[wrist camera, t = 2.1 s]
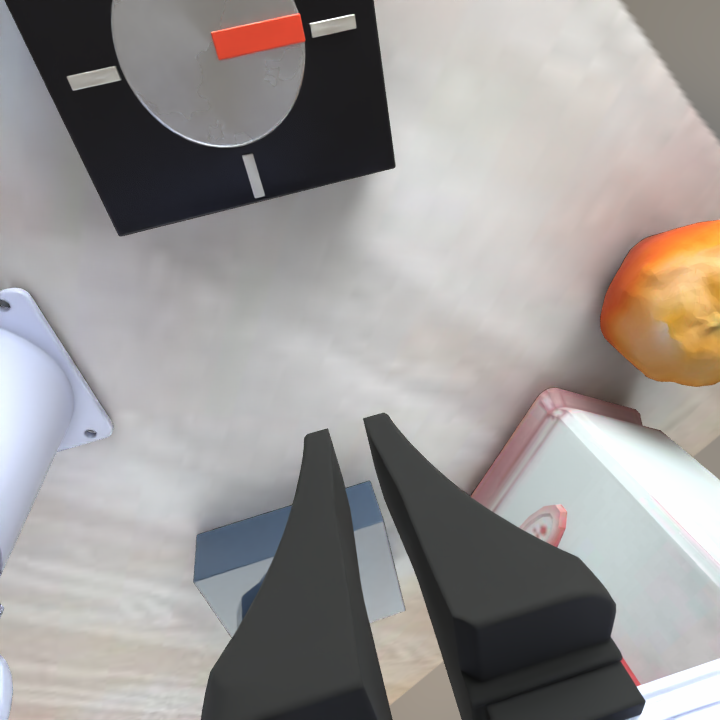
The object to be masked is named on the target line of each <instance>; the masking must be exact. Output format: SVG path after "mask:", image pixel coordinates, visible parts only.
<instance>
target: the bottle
mask: <svg viewBox="0 0 720 720" xmlns="http://www.w3.org/2000/svg"><path fill="white" fill-rule="evenodd" d="M471 497H472V498H473V499H475V500H476V501H478V502H479V503H481V504H482V505H483V506H485V507H486V508H488V509H489V510H491V511H493V512H494V513H496V514H497V515H499V516H501V517H502V518H504V519H506V520H507V521H509V522H511V523H512V524H514V525H516V526H517V527H519V528H521V529H522V530H524V531H526V532H528V533H530V534H532V535H534V536H535V537H537V538H539V539H541V540H543V541H545V542H547V543H549V544H551V545H553V546H555V547H557V548H559V549H562V550H564V551H566V552H568V553H570V554H573V555H575V556H577V557H579V558H580V559H581V560H582V561H583V562H584V564H585V565H586V566H587V567H588V568H589V569H590V570H591V571H592V572H593V573H594V575H595V576H596V577H597V578H598V579H599V580H600V581H601V583H602V584H603V585H604V586H605V588H606V589H607V590H608V592H609V594H610V595H611V597H612V599H613V600H614V602H615V603H616V616H615V620H614V624H613V629H612V633H611V638H612V639H613V641H614V642H615V644H616V645H617V647H618V649H619V650H620V652H621V654H622V657H623V658H622V660H621V662H622V664H623V666H624V667H625V669H626V670H627V672H628V674H629V675H630V677H631V678H632V680H633V681H634V683H635V685H636V686H639V685H642V684H645V683H648V682H651V681H654V680H657V679H660V678H663V677H666V676H669V675H672V674H675V673H678V672H681V671H684V670H687V669H690V668H693V667H696V666H699V665H702V664H705V663H708V662H711V661H714V660H716V659H719V658H720V480H719V479H718V478H716V477H715V476H714V475H713V474H712V473H711V472H709V471H708V470H707V469H706V468H705V467H703V466H702V465H701V464H700V463H699V462H697V461H696V460H695V459H694V458H693V457H692V456H690V455H689V454H688V453H687V452H686V451H684V450H683V449H682V448H681V447H680V446H679V445H677V444H676V443H675V442H674V441H673V440H671V439H670V438H669V437H668V436H667V435H666V434H664V433H663V432H662V431H661V430H657V429H653V428H649V427H646V426H642V421H641V416H640V413H639V412H638V411H637V410H636V409H632V408H629V407H625V406H621V405H618V404H614V403H610V402H607V401H603V400H599V399H596V398H592V397H588V396H585V395H581V394H577V393H574V392H570V391H566V390H563V389H559V388H551V389H546V390H545V391H544V392H542V393H541V394H540V395H539V396H538V397H537V399H536V400H535V402H534V403H533V405H532V406H531V408H530V409H529V411H528V412H527V414H526V415H525V416H524V418H523V419H522V421H521V422H520V424H519V425H518V427H517V428H516V430H515V431H514V433H513V434H512V436H511V437H510V439H509V440H508V442H507V443H506V445H505V446H504V448H503V449H502V451H501V452H500V454H499V455H498V457H497V458H496V460H495V461H494V463H493V464H492V466H491V467H490V468H489V470H488V471H487V473H486V474H485V476H484V477H483V479H482V480H481V482H480V483H479V485H478V486H477V488H476V489H475V491H474V492H473V494H472V495H471Z"/></svg>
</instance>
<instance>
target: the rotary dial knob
mask: <svg viewBox="0 0 720 720" xmlns="http://www.w3.org/2000/svg"><path fill="white" fill-rule="evenodd" d="M111 31H112V39H113V44H114V48H115V53H116V56H117V59H118V62H119V65H120V68H121V70H122V72H123V74H124V76H125V78H126V81H127V83H128V84H129V86H130V88H131V89H132V91H133V93H134V94H135V96H136V97H137V98H138V100H139V101H140V102H141V104H142V105H143V106H144V107H145V108H146V109H147V111H148V112H149V113H150V114H151V115H152V116H153V117H154V118H155V119H156V120H158V121H159V122H160V123H161V124H162V125H163V126H165V127H166V128H168V129H169V130H171V131H172V132H173V133H175V134H177V135H179V136H181V137H183V138H184V139H186V140H189V141H192V142H194V143H197V144H200V145H204V146H208V147H216V148H233V147H239V146H244V145H247V144H251V143H254V142H256V141H258V140H260V139H262V138H264V137H265V136H267V135H268V134H269V133H271V132H272V131H273V130H274V129H276V128H277V127H278V126H279V125H280V124H281V123H282V121H283V120H284V119H285V118H286V117H287V115H288V114H289V112H290V111H291V109H292V107H293V106H294V104H295V101H296V99H297V97H298V95H299V91H300V88H301V85H302V81H303V76H304V70H305V57H306V56H305V35H304V31H303V26H302V21H301V16H300V14H299V12H298V10H297V7H296V4H295V2H294V0H112V3H111Z"/></svg>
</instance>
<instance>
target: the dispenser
mask: <svg viewBox="0 0 720 720" xmlns="http://www.w3.org/2000/svg"><path fill="white" fill-rule="evenodd" d="M345 490H346V494H347V498H348V502H349V506H350V510H351V517H352V524H353V531H354V537H355V545H356V552H357V559H358V566H359V573H360V580H361V586H362V591H363V597H364V602H365V606H366V610H367V615H368V619H369V623H372V622H375V621H378V620H381V619H383V618H386V617H389V616H392V615H395V614H398V613H401V612H404V611H405V605H404V601H403V597H402V593H401V589H400V585H399V581H398V577H397V573H396V569H395V565H394V561H393V557H392V552H391V548H390V544H389V540H388V536H387V532H386V528H385V524H384V520H383V517H382V514H381V511H380V508H379V505H378V502H377V499H376V496H375V493H374V490H373V487H372V485H371V482H370V481H367V482H364V483H361V484H357V485H354V486H351V487H348V488H345ZM291 507H292V505H290V506H287V507H284V508H281V509H278V510H275V511H271V512H268V513H265V514H262V515H259V516H255V517H252V518H249V519H246V520H243V521H239V522H236V523H233V524H230V525H227V526H223V527H220V528H217V529H214V530H211V531H207V532H204V533H201V534H198V535H197V538H196V552H195V565H194V579H193V582H194V584H195V585H196V587H197V588H198V590H199V591H200V593H201V594H202V596H203V597H204V598H205V600H206V601H207V603H208V604H209V606H210V607H211V609H212V610H213V612H214V613H215V614H216V616H217V617H218V619H219V620H220V622H221V623H222V625H223V626H224V628H225V629H226V631H227V632H228V633H229V635H230V636H231V638H232V637H233V636H234V634H235V632H236V631H237V629H238V627H239V626H240V624H241V622H242V620H243V618H244V617H245V615H246V613H247V611H248V609H249V607H250V606H251V604H252V602H253V600H254V598H255V596H256V595H257V593H258V591H259V589H260V587H261V585H262V583H263V580H264V578H265V576H266V574H267V572H268V569H269V567H270V565H271V563H272V560H273V558H274V556H275V553H276V551H277V548H278V546H279V543H280V541H281V538H282V535H283V533H284V530H285V527H286V524H287V521H288V517H289V514H290V511H291Z"/></svg>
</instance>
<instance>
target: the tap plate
mask: <svg viewBox="0 0 720 720" xmlns="http://www.w3.org/2000/svg"><path fill="white" fill-rule="evenodd" d="M5 2H6V4H7V7H8V9H9V11H10V13H11V15H12V17H13V19H14V21H15V23H16V25H17V27H18V29H19V31H20V33H21V35H22V37H23V40H24V42H25V44H26V46H27V48H28V50H29V52H30V54H31V56H32V58H33V60H34V62H35V64H36V66H37V68H38V70H39V72H40V75H41V77H42V79H43V81H44V83H45V85H46V87H47V89H48V91H49V93H50V95H51V97H52V99H53V101H54V103H55V105H56V108H57V110H58V112H59V114H60V116H61V118H62V120H63V122H64V124H65V126H66V128H67V130H68V132H69V134H70V136H71V138H72V141H73V143H74V145H75V147H76V149H77V151H78V153H79V155H80V157H81V159H82V161H83V163H84V165H85V167H86V169H87V171H88V173H89V176H90V178H91V180H92V182H93V184H94V186H95V188H96V190H97V192H98V194H99V196H100V198H101V200H102V202H103V204H104V206H105V209H106V211H107V213H108V215H109V217H110V219H111V221H112V223H113V225H114V227H115V229H116V231H117V233H118V235H119V236H125V235H129V234H133V233H137V232H141V231H145V230H149V229H153V228H157V227H161V226H165V225H169V224H173V223H177V222H181V221H185V220H189V219H193V218H197V217H201V216H205V215H209V214H213V213H217V212H221V211H225V210H229V209H233V208H237V207H241V206H245V205H249V204H253V203H257V202H261V201H265V200H269V199H273V198H277V197H281V196H285V195H289V194H293V193H297V192H301V191H305V190H309V189H313V188H317V187H321V186H325V185H329V184H333V183H337V182H341V181H345V180H349V179H353V178H357V177H361V176H365V175H369V174H373V173H377V172H381V171H385V170H389V169H393V168H395V158H394V151H393V143H392V136H391V128H390V121H389V113H388V106H387V98H386V91H385V83H384V76H383V68H382V61H381V53H380V46H379V38H378V31H377V23H376V16H375V8H374V1H373V0H294V2H295V4H296V7H297V10H298V12H299V14H300V16H301V21H302V26H303V31H304V35H305V56H306V57H305V70H304V76H303V81H302V85H301V88H300V91H299V95H298V97H297V99H296V101H295V104H294V106H293V107H292V109H291V111H290V112H289V114H288V115H287V117H286V118H285V119H284V120H283V121H282V123H281V124H280V125H279V126H278V127H277V128H276V129H274V130H273V131H272V132H271V133H269V134H268V135H267V136H265V137H264V138H262V139H260V140H258V141H256V142H254V143H251V144H247V145H244V146H239V147H233V148H216V147H208V146H204V145H200V144H197V143H194V142H192V141H189V140H186V139H184V138H183V137H181V136H179V135H177V134H175V133H173V132H172V131H171V130H169V129H168V128H166V127H165V126H163V125H162V124H161V123H160V122H159V121H158V120H156V119H155V118H154V117H153V116H152V115H151V114H150V113H149V112H148V111H147V109H146V108H145V107H144V106H143V105H142V104H141V102H140V101H139V100H138V98H137V97H136V96H135V94H134V93H133V91H132V89H131V88H130V86H129V84H128V83H127V81H126V78H125V76H124V74H123V72H122V70H121V68H120V65H119V62H118V59H117V56H116V53H115V48H114V44H113V39H112V31H111V3H112V0H5Z"/></svg>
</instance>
